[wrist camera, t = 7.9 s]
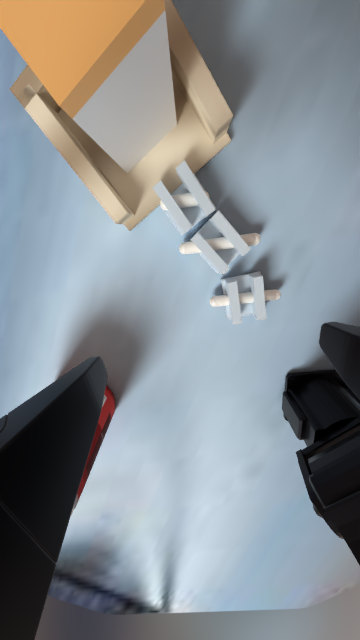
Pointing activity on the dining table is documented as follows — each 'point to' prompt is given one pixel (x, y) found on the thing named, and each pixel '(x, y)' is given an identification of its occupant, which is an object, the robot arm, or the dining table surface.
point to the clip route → (216, 245)
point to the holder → (160, 163)
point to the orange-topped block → (101, 67)
